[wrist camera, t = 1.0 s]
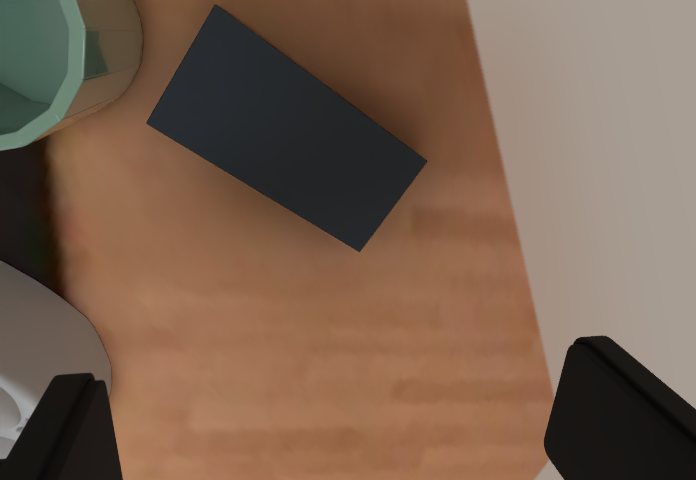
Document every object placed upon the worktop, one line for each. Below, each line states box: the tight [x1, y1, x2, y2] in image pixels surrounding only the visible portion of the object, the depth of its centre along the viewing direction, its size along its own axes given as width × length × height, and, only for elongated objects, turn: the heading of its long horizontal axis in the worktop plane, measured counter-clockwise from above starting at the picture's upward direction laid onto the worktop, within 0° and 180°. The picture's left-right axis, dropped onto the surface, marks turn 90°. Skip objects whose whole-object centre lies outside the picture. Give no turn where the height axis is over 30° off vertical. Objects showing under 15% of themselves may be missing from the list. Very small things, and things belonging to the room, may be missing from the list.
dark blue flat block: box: [147, 5, 427, 252], centre depth 25 cm, size 6×13×2 cm, turn 54°
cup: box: [0, 0, 143, 151], centre depth 18 cm, size 8×8×9 cm
